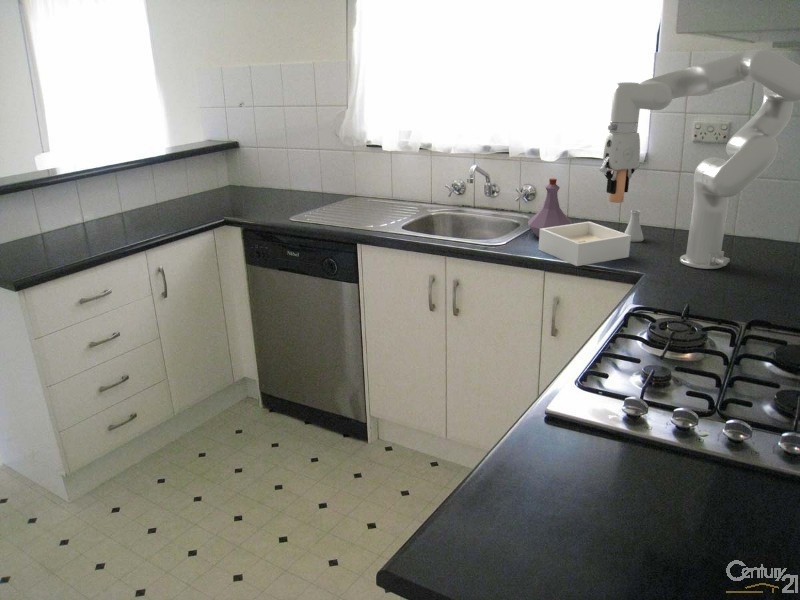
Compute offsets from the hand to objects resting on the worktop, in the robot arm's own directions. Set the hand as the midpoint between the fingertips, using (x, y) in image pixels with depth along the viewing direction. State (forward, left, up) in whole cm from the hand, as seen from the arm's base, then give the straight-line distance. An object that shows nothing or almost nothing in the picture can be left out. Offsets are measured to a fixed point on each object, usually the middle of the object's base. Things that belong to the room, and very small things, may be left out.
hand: (617, 191), depth 198 cm
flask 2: (+18, -25, -23) cm, 39 cm away
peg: (0, 0, -3) cm, 3 cm away
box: (+13, 0, -22) cm, 26 cm away
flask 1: (+35, -3, -23) cm, 42 cm away
